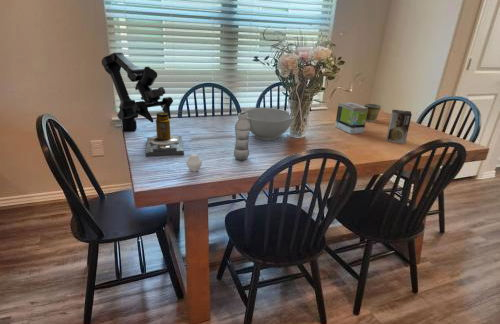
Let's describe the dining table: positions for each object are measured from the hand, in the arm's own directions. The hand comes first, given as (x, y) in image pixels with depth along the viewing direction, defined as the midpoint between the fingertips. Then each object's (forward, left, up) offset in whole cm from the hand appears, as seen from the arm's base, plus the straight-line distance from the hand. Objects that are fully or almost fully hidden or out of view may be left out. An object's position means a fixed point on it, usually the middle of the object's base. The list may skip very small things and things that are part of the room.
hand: (161, 120), depth 148 cm
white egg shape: (+12, -31, -12) cm, 35 cm away
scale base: (+1, -4, -12) cm, 13 cm away
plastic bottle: (+33, -22, -12) cm, 41 cm away
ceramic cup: (+130, +30, -12) cm, 134 cm away
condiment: (0, -1, -9) cm, 9 cm away
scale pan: (+1, -1, -10) cm, 10 cm away
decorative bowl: (+53, +6, -12) cm, 54 cm away
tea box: (+105, +12, -12) cm, 106 cm away
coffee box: (+120, -10, -12) cm, 121 cm away
